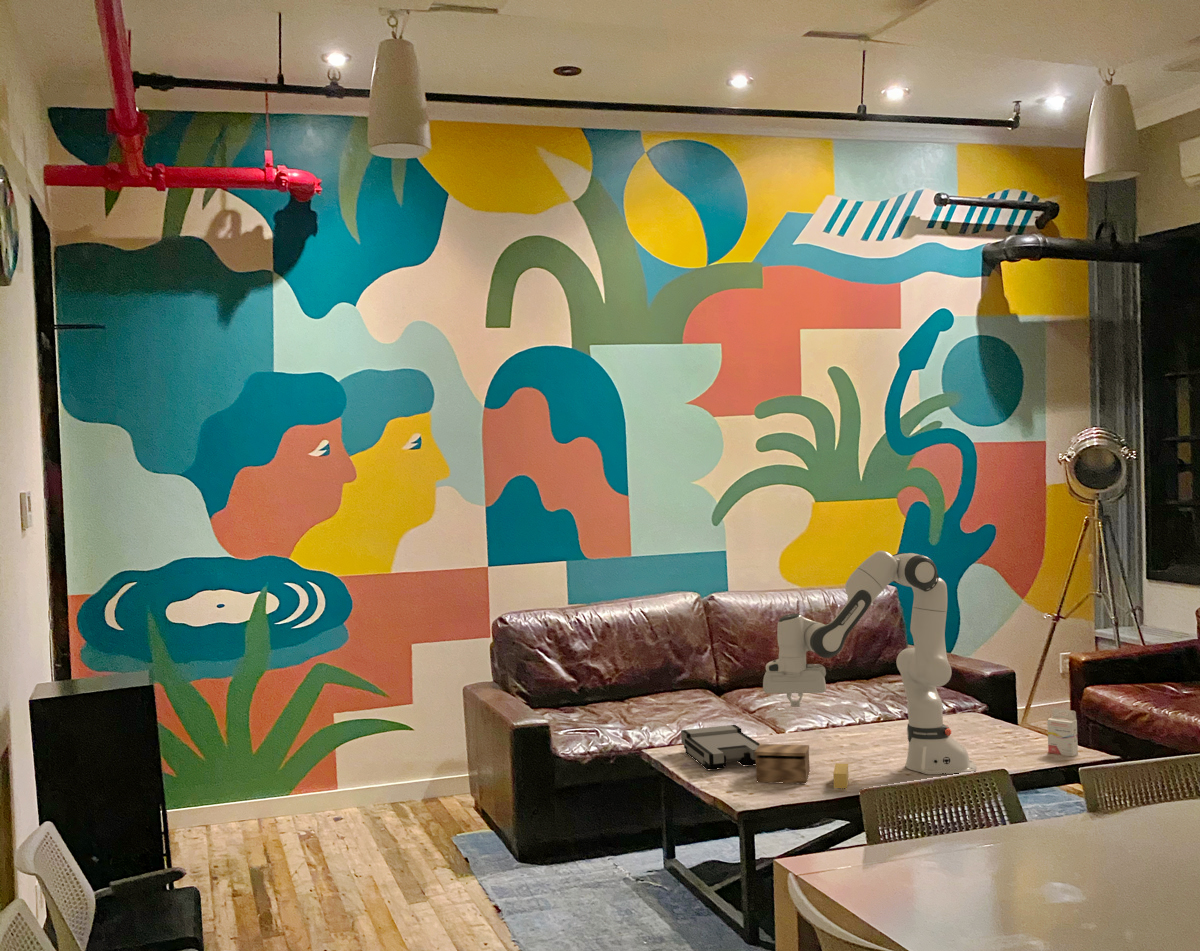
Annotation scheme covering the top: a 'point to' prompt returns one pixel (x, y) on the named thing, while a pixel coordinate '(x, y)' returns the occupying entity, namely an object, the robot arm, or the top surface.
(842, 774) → the yellow block
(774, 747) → the box lid
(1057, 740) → the ink cartridge box
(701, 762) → the game console
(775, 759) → the wooden box
